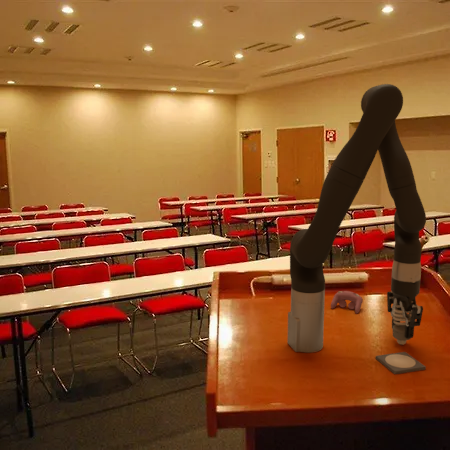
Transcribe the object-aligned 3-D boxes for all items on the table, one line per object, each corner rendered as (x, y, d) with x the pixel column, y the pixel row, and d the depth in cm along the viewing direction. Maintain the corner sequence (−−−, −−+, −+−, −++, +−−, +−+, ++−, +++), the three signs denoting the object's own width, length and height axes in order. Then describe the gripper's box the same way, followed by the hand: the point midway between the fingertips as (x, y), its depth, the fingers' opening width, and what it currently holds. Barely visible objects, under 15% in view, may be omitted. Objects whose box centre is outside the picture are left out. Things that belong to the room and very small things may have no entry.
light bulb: (415, 344, 151) (418, 304, 149) (406, 351, 147) (409, 310, 145) (396, 338, 155) (399, 299, 153) (387, 345, 151) (389, 305, 149)
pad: (394, 374, 135) (394, 371, 135) (375, 358, 143) (375, 355, 143) (425, 369, 137) (425, 366, 137) (405, 354, 146) (405, 351, 145)
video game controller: (361, 315, 177) (365, 294, 178) (357, 313, 173) (361, 292, 175) (333, 309, 182) (337, 289, 184) (328, 307, 179) (333, 287, 180)
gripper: (379, 270, 153) (376, 325, 156) (409, 285, 139) (405, 345, 143) (402, 267, 155) (399, 322, 158) (434, 283, 141) (429, 342, 145)
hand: (402, 333), depth 151 cm, fingers open, 5 cm apart
